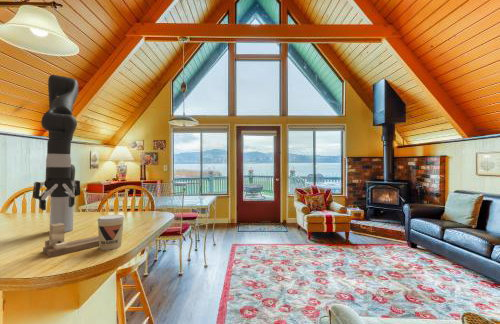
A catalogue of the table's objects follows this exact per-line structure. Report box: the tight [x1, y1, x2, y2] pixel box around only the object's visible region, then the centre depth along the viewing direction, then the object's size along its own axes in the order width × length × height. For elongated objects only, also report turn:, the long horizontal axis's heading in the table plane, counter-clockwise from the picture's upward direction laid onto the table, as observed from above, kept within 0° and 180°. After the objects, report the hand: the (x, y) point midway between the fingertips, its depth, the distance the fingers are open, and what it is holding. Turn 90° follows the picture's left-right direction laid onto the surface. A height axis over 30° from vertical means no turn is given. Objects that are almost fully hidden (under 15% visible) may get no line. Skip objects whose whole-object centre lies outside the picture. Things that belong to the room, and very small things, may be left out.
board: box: [42, 235, 99, 258], centre depth 97 cm, size 8×20×2 cm, turn 146°
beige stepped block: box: [44, 223, 67, 250], centre depth 92 cm, size 9×5×10 cm, turn 56°
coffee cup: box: [97, 214, 125, 251], centre depth 99 cm, size 9×9×12 cm
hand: (57, 208), depth 93 cm, fingers open, 8 cm apart
